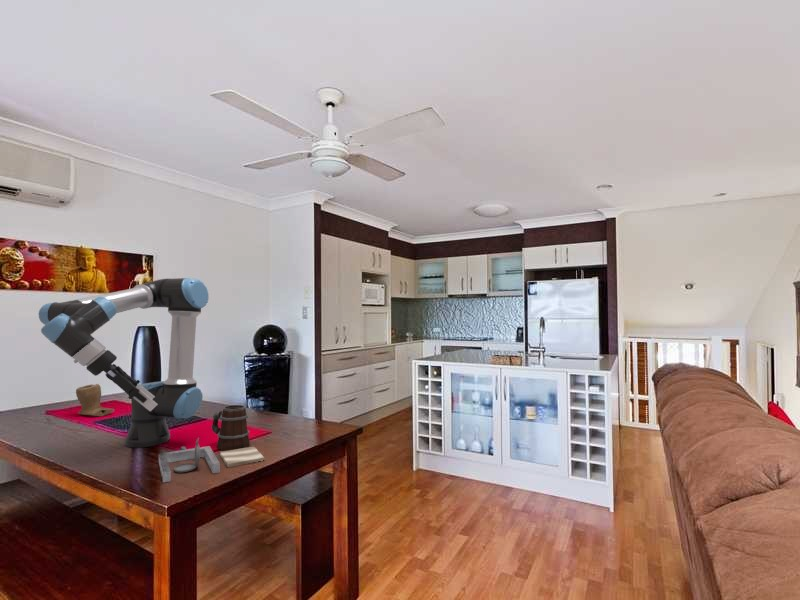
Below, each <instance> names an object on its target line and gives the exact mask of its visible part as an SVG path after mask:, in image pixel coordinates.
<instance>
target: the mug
mask: <svg viewBox="0 0 800 600" xmlns="http://www.w3.org/2000/svg"><path fill="white" fill-rule="evenodd" d="M222 409H223V410H220V411H216V412H215V413H214V414H213V417H212V418H213V419H212V425H211V430H212V432H213V433H214V434H215V435H217V438H218V440H217V442H216V449H217V448H218V449H217V450H221V451H222V452H223V451H229V450H235V449H241V448H248V447H250V437H249V435H250V430H249V429H248V426H247V425H248V424H247V423H248V422H247V419H248V418H249V414H248V413H247V411H246V406H245V405H242V404H231V405H227V406H224V407H223V408H222ZM219 420H220V421H221V423H220V427H219Z"/></svg>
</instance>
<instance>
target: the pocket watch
mask: <svg viewBox="0 0 800 600" xmlns="http://www.w3.org/2000/svg"><path fill="white" fill-rule="evenodd" d="M199 439H200V438H199V437H197V439H196V441H195V446H194V448H195V459H194V463H192V462H189V463H188V462H187V463H181V464H177V465H176V466H174V467H173V471H174V472H176V473H187V472H191V471H194V470H195V469H196V468H197V466H199V465H200V459H201V458H200V450H199V448H200V444H199V441H200V440H199Z"/></svg>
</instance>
